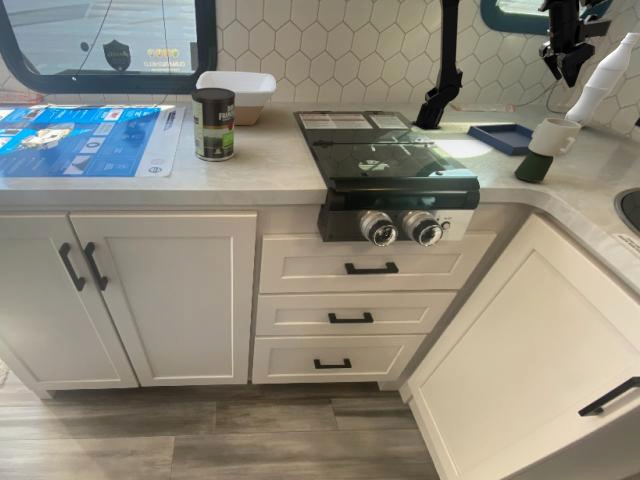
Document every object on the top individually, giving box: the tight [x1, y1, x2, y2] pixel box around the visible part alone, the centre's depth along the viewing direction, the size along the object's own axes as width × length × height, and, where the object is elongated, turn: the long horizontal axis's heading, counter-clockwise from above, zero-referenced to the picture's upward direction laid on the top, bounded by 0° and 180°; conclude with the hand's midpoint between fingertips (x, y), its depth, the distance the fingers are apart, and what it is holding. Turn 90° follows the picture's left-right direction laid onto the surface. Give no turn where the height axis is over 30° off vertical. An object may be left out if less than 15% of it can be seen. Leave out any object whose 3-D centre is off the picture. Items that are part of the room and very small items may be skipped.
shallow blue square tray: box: [466, 122, 535, 157], centre depth 103 cm, size 18×18×2 cm
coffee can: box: [190, 88, 235, 162], centre depth 85 cm, size 10×10×14 cm
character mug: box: [513, 117, 583, 182], centre depth 81 cm, size 11×7×13 cm, turn 7°
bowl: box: [195, 70, 278, 126], centre depth 107 cm, size 24×25×11 cm
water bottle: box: [564, 32, 640, 128], centre depth 109 cm, size 7×7×25 cm
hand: (565, 83), depth 96 cm, fingers open, 9 cm apart
